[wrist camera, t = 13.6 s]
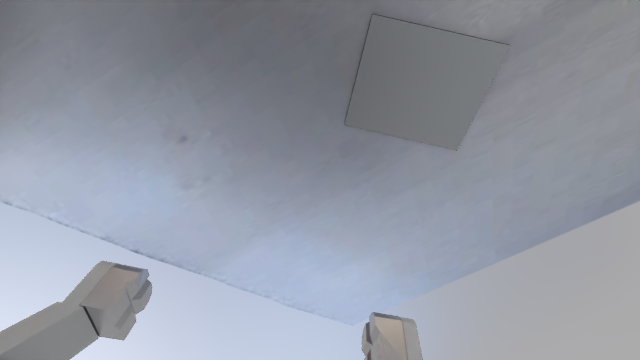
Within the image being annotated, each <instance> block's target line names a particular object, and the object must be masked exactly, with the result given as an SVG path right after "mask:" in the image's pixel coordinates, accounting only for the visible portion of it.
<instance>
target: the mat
mask: <svg viewBox="0 0 640 360" xmlns="http://www.w3.org/2000/svg"><path fill="white" fill-rule="evenodd" d="M510 47H511V46H510V45H507V44H502V43H498V42H494V41H489V40H485V39H481V38H476V37H472V36H467V35H463V34H459V33H454V32H450V31H445V30H441V29H437V28H432V27H428V26H424V25H419V24H415V23H410V22H406V21H402V20H397V19H393V18H388V17H384V16H380V15H375V14H372V17H371V21H370V25H369V29H368V33H367V37H366V41H365V45H364V49H363V53H362V57H361V61H360V65H359V69H358V73H357V77H356V81H355V85H354V89H353V93H352V97H351V100H350V104H349V108H348V112H347V116H346V120H345V125H347V126H351V127H356V128H360V129H364V130H369V131H373V132H377V133H382V134H386V135H391V136H395V137H399V138H404V139H408V140H412V141H417V142H421V143H425V144H430V145H434V146H438V147H443V148H447V149H451V150H456V151H457V149H458V147H459V146H460V144H461V142H462V140H463V138H464V136H465V134H466V132H467V130H468V128H469V126H470V124H471V122H472V120H473V118H474V116H475V115H476V113H477V111H478V109H479V107H480V105H481V103H482V101H483V99H484V97H485V95H486V93H487V91H488V89H489V87H490V85H491V83H492V82H493V80H494V78H495V76H496V74H497V72H498V70H499V68H500V66H501V64H502V62H503V60H504V58H505V56H506V54H507V52H508V50H509V49H510Z"/></svg>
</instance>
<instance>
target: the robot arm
mask: <svg viewBox="0 0 640 360" xmlns="http://www.w3.org/2000/svg"><path fill="white" fill-rule="evenodd" d="M148 276H149V273H148V270H147V269H142V268H137V267H131V266H126V265H121V264H118V263H112V262H106V261H101V262H100V263H98V264H97V265H96V266H95V267H94V268H93V269H92V270H91V271H90V272H89V273H88V274H87V276H86V277H85V278H84V279H83V280H82V281H81V282H80V283H79V284H78V285H77V287H76V288H75V289H74V290H73V291H72V292H71V293H70V294H69V296H68V297H67V298H66V299H65V300H64V301H63V302H62V303H61V302H57V303H55V304H53V305H51V306H49V307H47V308H45V309H43V310H42V311H39V312H37V313H36V314H34V315H32V316H30V317H28V318H26V319H24V320H22V321H20V322H18V323H16V324H14V325H12V326H10V327H9V328H7V329H5V330H3V331H1V332H0V360H69V359H71V358H72V357H74V356H75V355H76V354H78V353H79V352H80V351H82V350H83V349H84V348H86V347H87V346H88V345H90V344H91V343H93V342H94V341H95V340H97V339H98V336H99V337H106V338H112V339H119V340H125V338H126V337H127V335H128V333H129V332H130V330H131V329H132V327H133V325H134V324H135V322H136V314H137V313H139V312H140V311H142V310H143V309H144V308H145V306H146V305H147V303H148V302H149V299H150V296H151V294H152V284H151V282H150V281H148V280H147V278H148ZM369 320H370V322H368V323H366V325H365V327H364V330H363V335H362V351H363V352H364V354H365V356H366V358H365V359H364V360H423V359H422V353H421V348H420V342H419V337H418V332H417V326H416V323H415V321H414V320H413V319H408V318H403V317H398V316H393V315H386V314H381V313H375V312H373V313H371V315H370V317H369Z"/></svg>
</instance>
